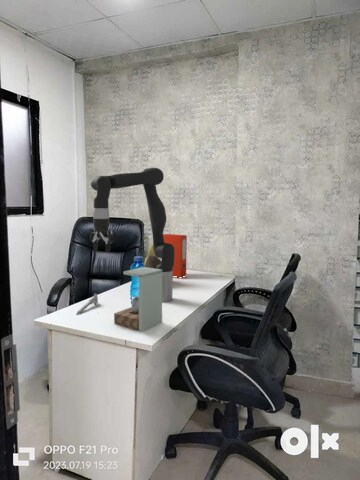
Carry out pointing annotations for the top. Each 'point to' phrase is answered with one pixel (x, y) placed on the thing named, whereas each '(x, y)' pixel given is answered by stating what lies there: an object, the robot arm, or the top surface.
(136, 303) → the steel peg
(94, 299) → the caliper
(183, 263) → the file binder
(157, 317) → the pale green block
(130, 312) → the socket block
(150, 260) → the decorative clock
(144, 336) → the top surface
